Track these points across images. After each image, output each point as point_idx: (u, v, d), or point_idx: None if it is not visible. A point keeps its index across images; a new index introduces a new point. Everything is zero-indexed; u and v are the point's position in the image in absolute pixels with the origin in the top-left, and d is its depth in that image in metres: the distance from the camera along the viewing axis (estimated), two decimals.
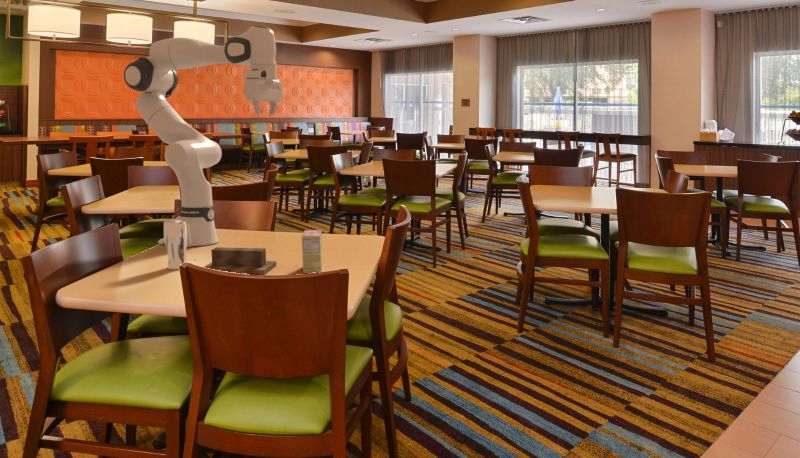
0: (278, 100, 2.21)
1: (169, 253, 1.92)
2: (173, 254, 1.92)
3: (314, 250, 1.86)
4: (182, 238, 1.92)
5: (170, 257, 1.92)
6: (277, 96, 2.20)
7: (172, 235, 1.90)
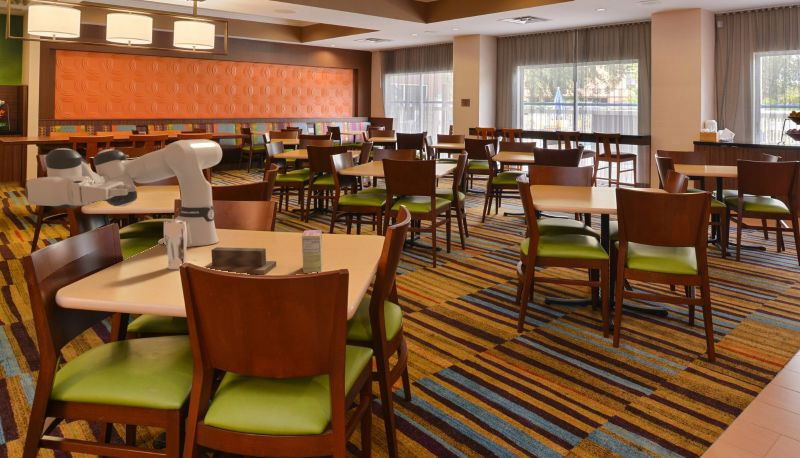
0: (119, 182, 1.94)
1: (169, 253, 1.92)
2: (173, 254, 1.92)
3: (314, 250, 1.86)
4: (182, 238, 1.92)
5: (170, 257, 1.92)
6: (114, 182, 1.93)
7: (172, 235, 1.90)
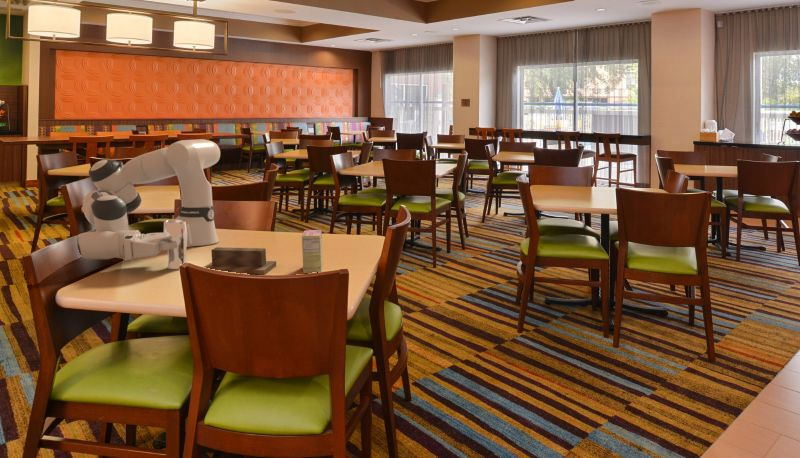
0: None
1: (169, 253, 1.92)
2: (173, 254, 1.92)
3: (314, 250, 1.86)
4: (182, 238, 1.92)
5: (170, 257, 1.92)
6: (161, 234, 1.98)
7: (172, 235, 1.90)
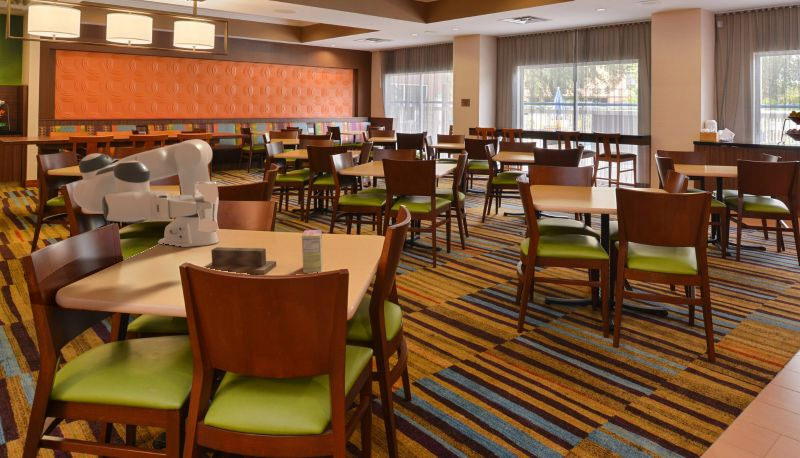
0: (191, 196, 1.92)
1: (201, 215, 1.86)
2: (206, 216, 1.86)
3: (314, 250, 1.86)
4: (215, 199, 1.87)
5: (202, 219, 1.87)
6: (187, 196, 1.91)
7: (206, 197, 1.84)
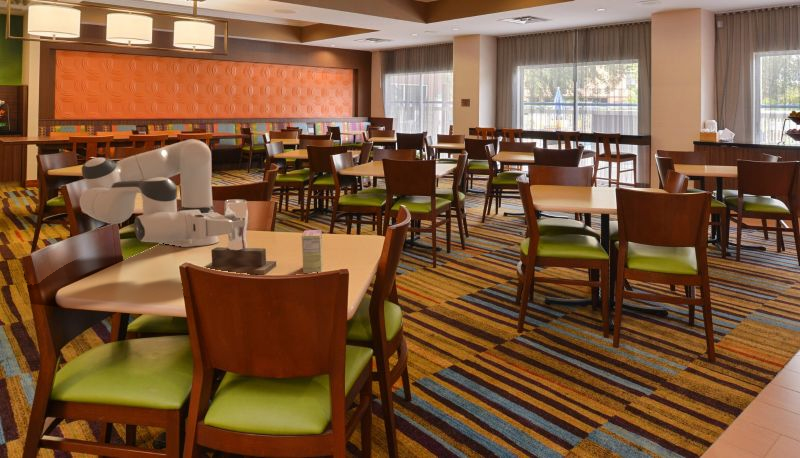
0: None
1: (232, 234, 1.89)
2: (237, 234, 1.89)
3: (314, 250, 1.86)
4: (246, 218, 1.90)
5: (233, 238, 1.89)
6: (214, 214, 1.92)
7: (238, 215, 1.87)
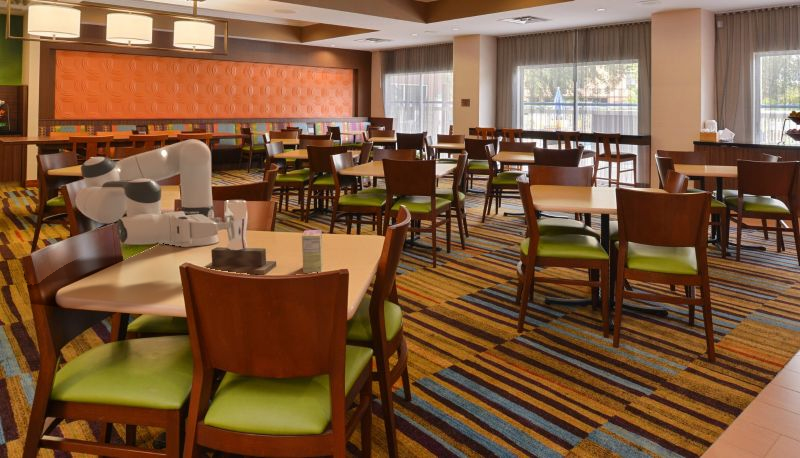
0: (203, 215, 1.91)
1: (232, 234, 1.89)
2: (237, 234, 1.89)
3: (314, 250, 1.86)
4: (245, 218, 1.90)
5: (233, 238, 1.89)
6: (199, 215, 1.89)
7: (238, 215, 1.88)
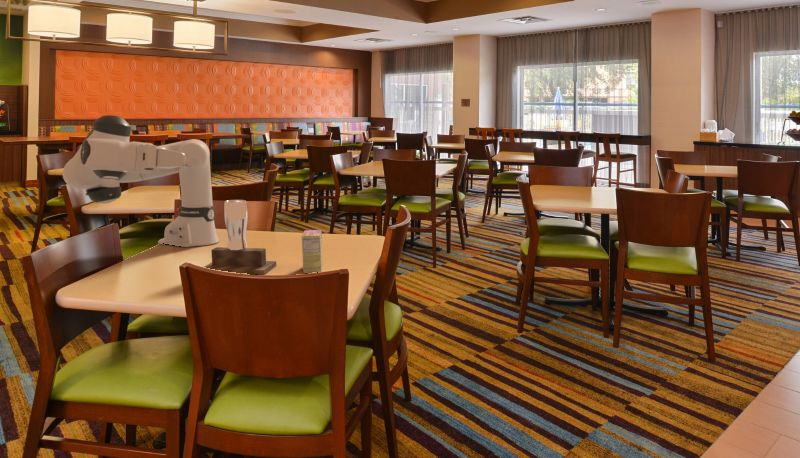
0: None
1: (232, 234, 1.89)
2: (237, 234, 1.89)
3: (314, 250, 1.86)
4: (245, 218, 1.90)
5: (233, 238, 1.89)
6: None
7: (238, 215, 1.88)
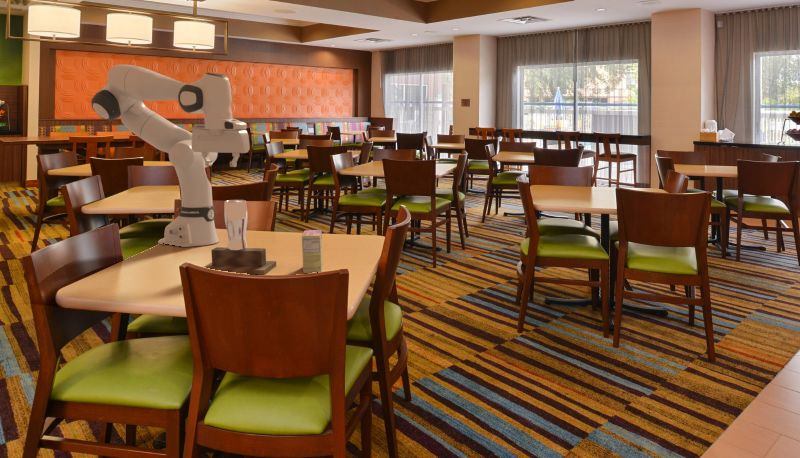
0: None
1: (232, 234, 1.89)
2: (237, 234, 1.89)
3: (314, 250, 1.86)
4: (245, 218, 1.90)
5: (233, 238, 1.89)
6: None
7: (238, 215, 1.88)
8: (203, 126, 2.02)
